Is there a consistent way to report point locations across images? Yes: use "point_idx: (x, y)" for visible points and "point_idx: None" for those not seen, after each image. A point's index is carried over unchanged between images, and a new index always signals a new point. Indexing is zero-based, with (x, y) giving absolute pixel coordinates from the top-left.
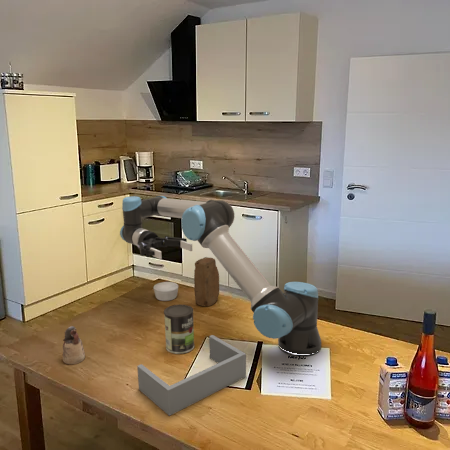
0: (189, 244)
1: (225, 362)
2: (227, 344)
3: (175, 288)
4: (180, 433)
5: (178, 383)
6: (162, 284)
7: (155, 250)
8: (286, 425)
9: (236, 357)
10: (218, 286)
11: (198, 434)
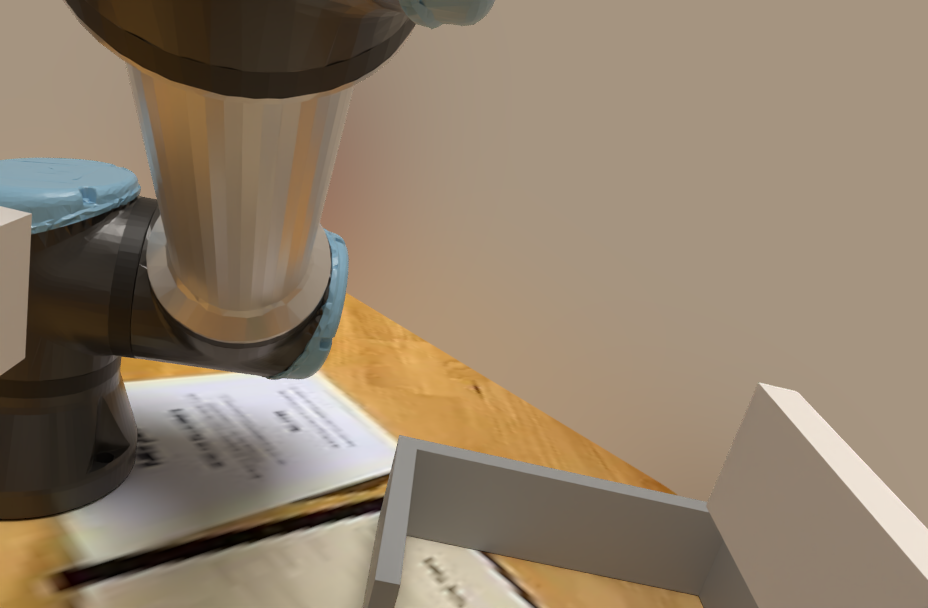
0: (4, 235)
1: (498, 459)
2: (395, 497)
3: None
4: None
5: (701, 506)
6: None
7: (872, 476)
8: (468, 403)
9: (444, 446)
10: None
11: None
